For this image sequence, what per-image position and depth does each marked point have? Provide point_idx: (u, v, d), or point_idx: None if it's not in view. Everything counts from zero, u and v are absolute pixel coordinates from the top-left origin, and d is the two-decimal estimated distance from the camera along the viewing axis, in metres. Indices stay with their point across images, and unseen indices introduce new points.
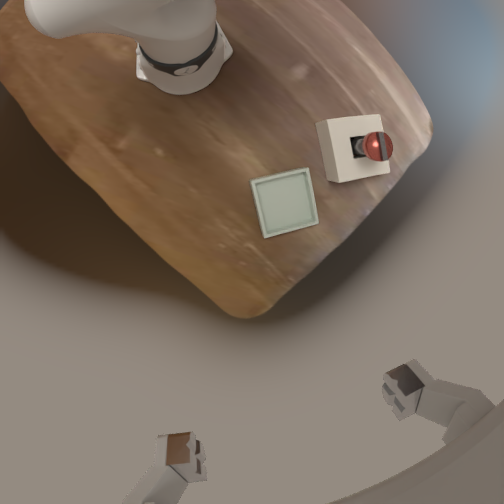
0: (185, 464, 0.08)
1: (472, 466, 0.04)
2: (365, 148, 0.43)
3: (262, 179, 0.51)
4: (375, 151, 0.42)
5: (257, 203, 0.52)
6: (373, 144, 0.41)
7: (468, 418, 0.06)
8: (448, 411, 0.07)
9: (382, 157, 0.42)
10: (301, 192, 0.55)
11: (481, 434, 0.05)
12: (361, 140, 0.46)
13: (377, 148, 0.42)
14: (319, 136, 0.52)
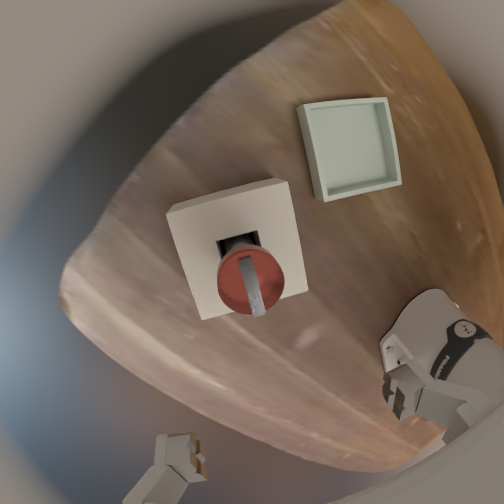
0: (185, 464, 0.08)
1: (472, 466, 0.04)
2: None
3: (389, 185, 0.31)
4: (266, 272, 0.22)
5: (396, 150, 0.30)
6: (271, 285, 0.22)
7: (468, 418, 0.06)
8: (448, 411, 0.07)
9: (253, 264, 0.21)
10: (323, 157, 0.32)
11: (481, 434, 0.05)
12: None
13: (260, 278, 0.22)
14: None
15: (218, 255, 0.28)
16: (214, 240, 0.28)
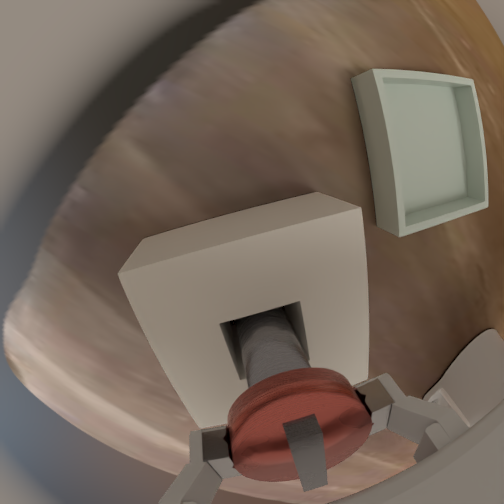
0: (224, 459, 0.08)
1: (472, 466, 0.04)
2: None
3: (475, 208, 0.18)
4: (340, 430, 0.08)
5: (485, 157, 0.17)
6: (344, 444, 0.08)
7: (437, 440, 0.06)
8: (419, 429, 0.07)
9: (321, 436, 0.07)
10: None
11: (481, 434, 0.05)
12: None
13: (327, 440, 0.08)
14: None
15: (224, 346, 0.14)
16: (216, 322, 0.14)
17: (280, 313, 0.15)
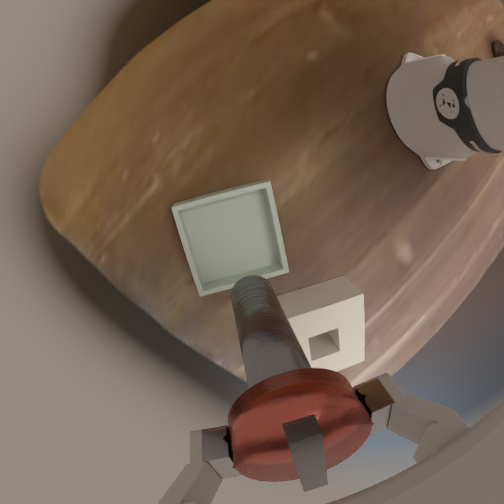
0: (224, 459, 0.08)
1: (472, 466, 0.04)
2: None
3: (272, 200, 0.32)
4: (340, 431, 0.08)
5: (232, 192, 0.31)
6: (344, 444, 0.08)
7: (437, 440, 0.06)
8: (419, 429, 0.07)
9: (321, 436, 0.07)
10: (245, 263, 0.36)
11: (481, 434, 0.05)
12: None
13: (327, 440, 0.08)
14: (328, 283, 0.39)
15: (321, 358, 0.36)
16: (310, 361, 0.36)
17: (280, 313, 0.15)
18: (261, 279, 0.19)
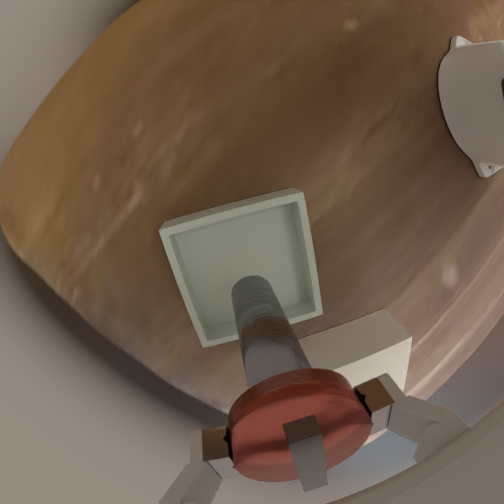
0: (223, 459, 0.08)
1: (472, 466, 0.04)
2: None
3: (305, 218, 0.22)
4: (340, 431, 0.08)
5: (248, 208, 0.21)
6: (344, 444, 0.08)
7: (437, 440, 0.06)
8: (419, 429, 0.07)
9: (321, 436, 0.07)
10: None
11: (481, 434, 0.05)
12: None
13: (327, 440, 0.08)
14: (366, 320, 0.29)
15: None
16: None
17: (280, 313, 0.15)
18: (261, 279, 0.19)
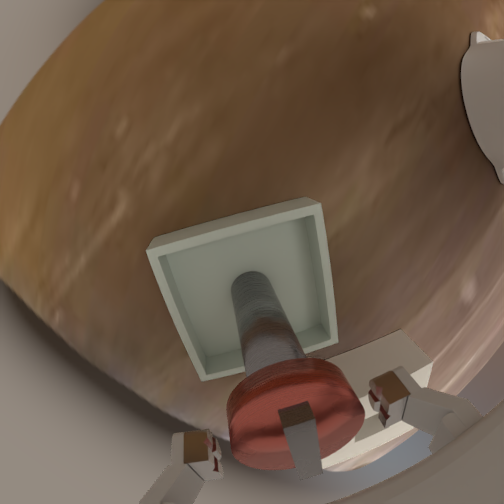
0: (203, 462, 0.08)
1: (472, 466, 0.04)
2: None
3: (322, 235, 0.18)
4: (333, 419, 0.09)
5: (254, 223, 0.17)
6: (338, 433, 0.09)
7: (454, 429, 0.06)
8: (435, 420, 0.07)
9: (314, 422, 0.08)
10: None
11: (481, 434, 0.05)
12: None
13: (321, 428, 0.09)
14: (382, 343, 0.25)
15: (367, 437, 0.23)
16: (353, 443, 0.23)
17: (278, 308, 0.16)
18: (260, 275, 0.20)
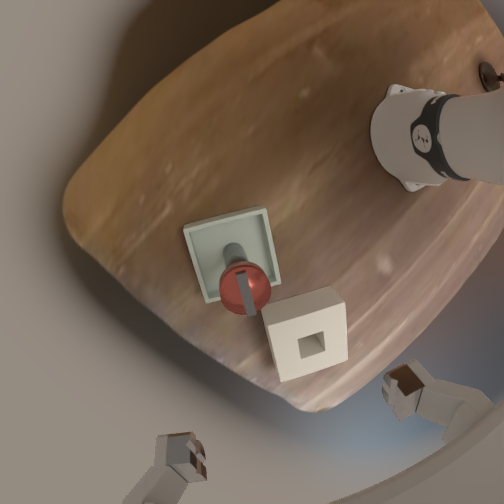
0: (185, 465, 0.08)
1: (472, 466, 0.04)
2: None
3: (267, 223, 0.38)
4: (256, 282, 0.28)
5: (234, 217, 0.37)
6: (260, 292, 0.29)
7: (468, 418, 0.06)
8: (448, 411, 0.07)
9: (247, 276, 0.27)
10: None
11: (481, 434, 0.05)
12: None
13: (252, 287, 0.28)
14: (315, 292, 0.45)
15: (309, 356, 0.43)
16: (300, 359, 0.42)
17: (244, 255, 0.36)
18: (238, 244, 0.40)
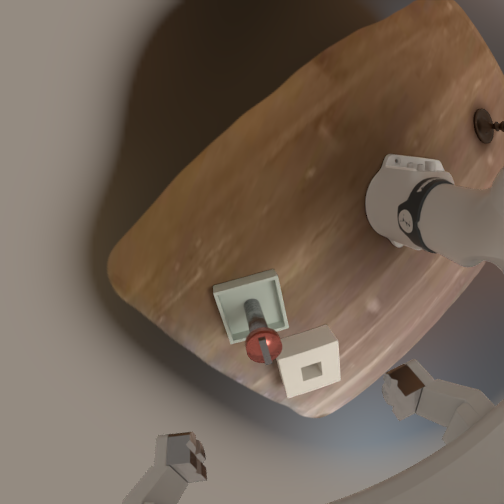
0: (185, 464, 0.08)
1: (472, 466, 0.04)
2: None
3: (278, 286, 0.49)
4: (272, 343, 0.39)
5: (252, 283, 0.48)
6: (275, 349, 0.40)
7: (468, 418, 0.06)
8: (448, 411, 0.07)
9: (266, 341, 0.38)
10: None
11: (481, 434, 0.05)
12: None
13: (269, 346, 0.39)
14: (315, 330, 0.56)
15: (310, 379, 0.53)
16: (302, 381, 0.53)
17: (261, 313, 0.47)
18: (255, 300, 0.51)
